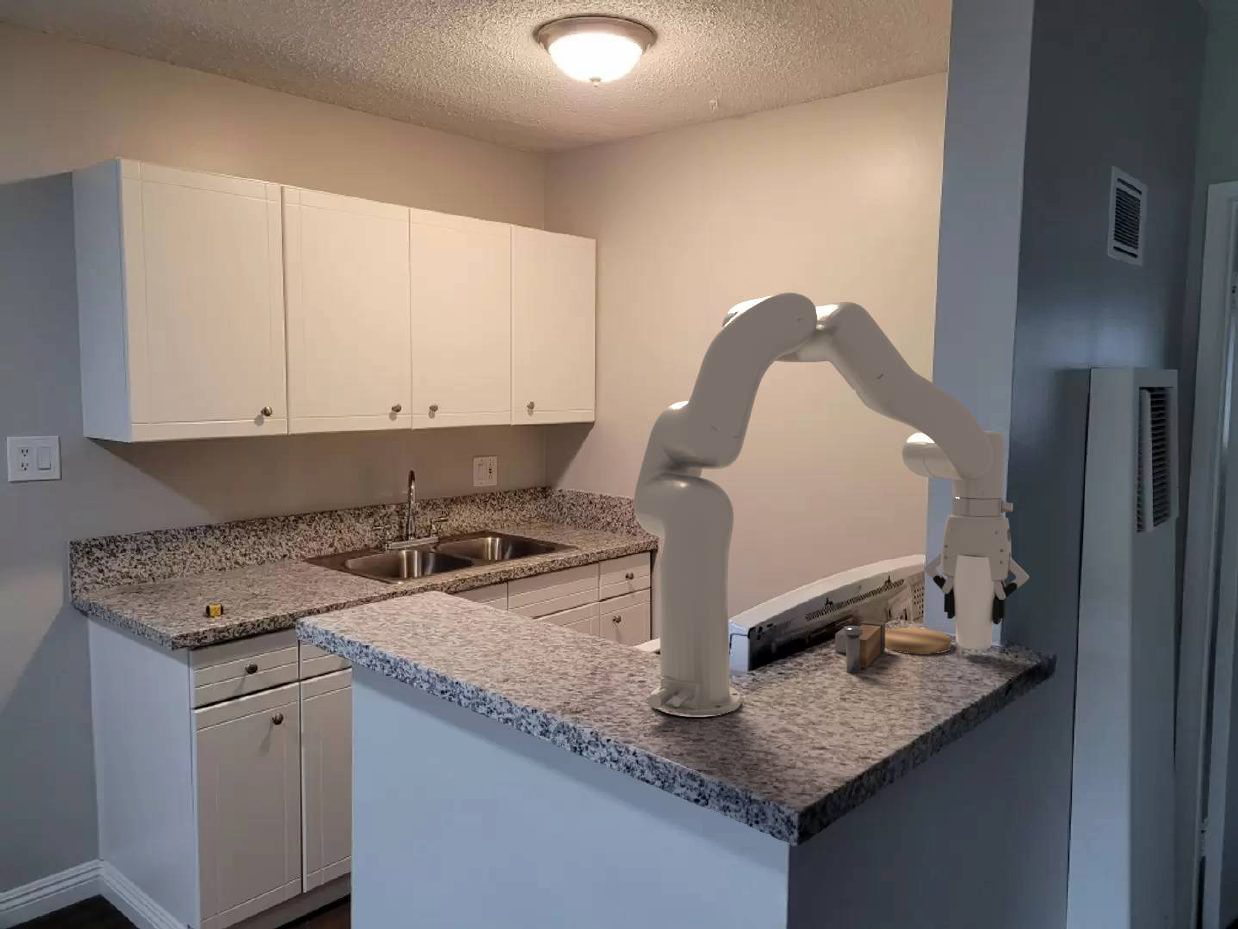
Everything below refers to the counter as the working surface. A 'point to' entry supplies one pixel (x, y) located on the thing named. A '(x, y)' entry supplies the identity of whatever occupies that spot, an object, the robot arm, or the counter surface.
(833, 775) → the counter surface
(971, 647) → the drinking glass
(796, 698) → the counter surface
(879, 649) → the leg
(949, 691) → the counter surface
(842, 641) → the stop block
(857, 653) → the pivot pin
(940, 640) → the wooden coaster
